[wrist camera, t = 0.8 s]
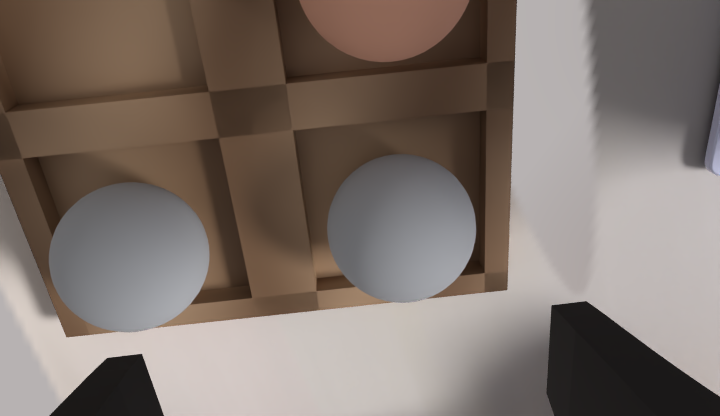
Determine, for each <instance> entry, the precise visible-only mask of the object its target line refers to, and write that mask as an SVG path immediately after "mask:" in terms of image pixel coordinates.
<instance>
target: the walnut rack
mask: <svg viewBox="0 0 720 416" xmlns="http://www.w3.org/2000/svg"><path fill="white" fill-rule="evenodd" d="M516 4H517V0H469V2H468V5H467V7H466V9H465V11H464V13H463V14H462V16H461V18H460V20H459V21H458V22H457V24H456V25H455V26H454V28H453V29H452V30H451V31H450V32H449V33H448V34H447V35H446V36H445V37H444V38H443V39H442V40H441V41H440V42H438V43H437V44H436V45H435V46H433V47H432V48H430V49H428V50H427V51H425V52H423V53H421V54H419V55H416V56H414V57H411V58H408V59H405V60H400V61H394V62H374V61H368V60H363V59H359V58H356V57H353V56H351V55H348V54H346V53H344V52H342V51H340V50H339V49H337V48H336V47H334V46H333V45H331V44H330V43H329V42H327V41H326V40H325V39H324V38H323V37H322V36H321V35H320V34H319V33H318V32H317V30H316V29H315V28H314V27H313V25H312V24H311V22H310V21H309V19H308V18H307V16H306V15H305V12H304V10H303V8H302V6H301V4H300V1H299V0H0V174H1V176H2V179H3V181H4V184H5V186H6V189H7V191H8V194H9V196H10V199H11V201H12V204H13V206H14V209H15V211H16V213H17V216H18V218H19V221H20V223H21V226H22V228H23V231H24V233H25V236H26V238H27V241H28V243H29V246H30V248H31V251H32V253H33V256H34V258H35V260H36V263H37V265H38V268H39V270H40V273H41V275H42V278H43V280H44V283H45V285H46V288H47V290H48V293H49V295H50V298H51V300H52V303H53V305H54V307H55V310H56V312H57V315H58V317H59V320H60V322H61V325H62V327H63V330H64V332H65V335H66V337H74V336H83V335H93V334H102V333H111V332H117V331H110V330H106V329H102V328H99V327H96V326H94V325H92V324H90V323H88V322H86V321H84V320H83V319H81V318H80V317H78V316H77V315H76V314H74V313H73V312H72V311H71V310H70V309H69V308H68V307H67V306H66V305H65V303H64V302H63V301H62V299H61V298H60V296H59V295H58V293H57V291H56V289H55V287H54V285H53V282H52V278H51V274H50V267H49V251H50V245H51V240H52V238H53V235H54V232H55V230H56V227H57V226H58V224H59V222H60V220H61V219H62V218H63V216H64V215H65V214H66V212H67V211H68V210H69V209H70V208H71V207H72V206H73V205H74V204H75V203H76V202H78V201H79V200H80V199H81V198H83V197H84V196H86V195H87V194H89V193H91V192H93V191H95V190H97V189H99V188H102V187H105V186H109V185H112V184H118V183H125V182H137V183H146V184H151V185H155V186H158V187H161V188H164V189H166V190H168V191H170V192H172V193H174V194H175V195H177V196H178V197H180V198H181V199H182V200H184V201H185V202H186V203H187V204H188V205H189V206H190V207H191V208H192V209H193V211H194V212H195V213H196V214H197V216H198V217H199V219H200V220H201V222H202V225H203V227H204V229H205V232H206V235H207V238H208V243H209V266H208V272H207V275H206V278H205V281H204V283H203V286H202V288H201V289H200V291H199V293H198V295H197V296H196V297H195V299H194V300H193V301H192V303H191V304H190V305H189V306H188V307H187V308H186V309H185V310H184V311H183V312H181V313H180V314H179V315H178V316H176V317H175V318H173V319H172V320H170V321H168V322H166V323H164V324H162V325H160V326H157V327H155V328H158V327H167V326H176V325H186V324H195V323H204V322H214V321H223V320H232V319H242V318H251V317H260V316H270V315H279V314H288V313H297V312H307V311H316V310H325V309H335V308H344V307H353V306H363V305H372V304H381V303H391V302H389V301H384V300H381V299H377V298H375V297H372V296H370V295H368V294H366V293H364V292H363V291H361V290H360V289H358V288H357V287H356V286H354V285H353V284H352V283H351V282H350V281H349V280H348V279H347V278H346V277H345V276H344V274H343V273H342V272H341V270H340V269H339V268H338V266H337V264H336V262H335V260H334V258H333V256H332V253H331V250H330V246H329V242H328V235H327V223H328V214H329V210H330V206H331V203H332V201H333V198H334V196H335V194H336V192H337V191H338V189H339V187H340V186H341V184H342V183H343V182H344V181H345V179H346V178H347V177H348V176H349V175H350V174H351V173H352V172H354V171H355V170H356V169H358V168H359V167H360V166H362V165H363V164H365V163H367V162H369V161H371V160H373V159H376V158H379V157H382V156H387V155H393V154H409V155H415V156H420V157H424V158H427V159H429V160H432V161H434V162H436V163H438V164H440V165H441V166H443V167H444V168H445V169H447V170H448V171H449V172H451V173H452V174H453V175H454V176H455V177H456V178H457V179H458V181H459V182H460V183H461V184H462V186H463V187H464V189H465V190H466V192H467V194H468V196H469V198H470V201H471V203H472V206H473V209H474V213H475V221H476V238H475V243H474V248H473V251H472V254H471V257H470V259H469V261H468V263H467V265H466V266H465V268H464V270H463V271H462V273H461V274H460V275H459V277H458V278H457V279H456V280H455V281H454V282H453V283H452V284H450V285H449V286H448V287H447V288H445V289H444V290H442V291H441V292H439V293H438V294H436V295H434V296H432V297H429V298H437V297H447V296H456V295H465V294H475V293H484V292H493V291H502V290H507V282H508V252H509V221H510V191H511V159H512V129H513V98H514V97H513V96H514V68H515V36H516V7H517V5H516ZM426 299H428V298H426Z"/></svg>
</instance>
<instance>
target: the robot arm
mask: <svg viewBox="0 0 720 416" xmlns="http://www.w3.org/2000/svg"><path fill="white" fill-rule="evenodd" d="M705 166H706V168H707V170H709V171H710V172H712V173H714V174H715V175H719V176H720V85H719V90H718V95H717V100H716V105H715V110H714V115H713V121H712V126H711V131H710V136H709V141H708V146H707V151H706V156H705ZM547 395H548V398H549V401H550V404H551V407H552V410H553V413H554V416H720V397H719V396H718V395H716V394H715V393H713V392H712V391H710V390H709V389H707V388H706V387H704V386H703V385H701V384H700V383H698V382H697V381H696V380H694V379H693V378H691V377H690V376H688V375H687V374H685V373H684V372H683V371H681V370H680V369H678V368H677V367H675V366H674V365H673V364H671V363H670V362H668V361H667V360H666V359H664V358H663V357H661V356H660V355H659V354H657V353H656V352H655V351H653V350H652V349H650V348H649V347H648V346H646V345H645V344H644V343H642V342H641V341H640V340H638V339H637V338H635V337H634V336H633V335H631V334H630V333H629V332H627V331H626V330H625V329H623V328H622V327H621V326H619V325H618V324H617V323H615V322H614V321H613V320H611V319H610V318H609V317H607V316H606V315H605V314H603V313H602V312H601V311H599V310H598V309H596V308H595V307H594V306H592V305H591V304H589V303H588V302H587V301H585V302H576V303H568V304H560V305H552V307H551V325H550V343H549V360H548V378H547ZM50 416H164V415H163V412H162V409H161V406H160V404H159V401H158V398H157V395H156V392H155V390H154V387H153V384H152V381H151V378H150V376H149V373H148V370H147V367H146V364H145V362H144V359H143V356H142V354H137V355H129V356H121V357H112V358H107V359H106V360H105V361H104V362H103V363H101V364H100V365H99V366H98V367H97V368H96V369H95V370H94V371H93V372H92V373H91V374H90V375H89V376H88V377H87V378H86V379H85V380H84V381H83V382H82V383H81V384H80V385H79V386H78V387H77V388H76V389H75V390H74V391H73V392H72V393H71V394H70V395H69V396H68V397H67V398H66V399H65V400H64V401H63V402H62V403H61V404H60V405H59V406H58V408H57V409H56V410H55V411H54V412H53V413H52V414H51V415H50Z"/></svg>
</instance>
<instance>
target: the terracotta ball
mask: <svg viewBox="0 0 720 416" xmlns="http://www.w3.org/2000/svg"><path fill="white" fill-rule="evenodd" d="M299 1H300V4H301V6H302V8H303V10H304V12H305V15H306V16H307V18H308V19H309V21H310V22H311V24H312V25H313V27H314V28H315V29H316V30H317V32H318V33H319V34H320V35H321V36H322V37H323V38H324V39H325V40H326V41H327V42H329V43H330V44H331V45H333V46H334V47H336V48H337V49H339V50H340V51H342V52H344V53H346V54H348V55H351V56H353V57H356V58H359V59H363V60H368V61H374V62H394V61H400V60H405V59H408V58H411V57H414V56H416V55H419V54H421V53H423V52H425V51H427V50H428V49H430V48H432V47H433V46H435V45H436V44H437V43H438V42H440V41H441V40H442V39H443V38H444V37H445V36H446V35H447V34H448V33H449V32H450V31H451V30H452V29H453V28H454V26H455V25H456V24H457V22H458V21H459V20H460V18H461V16H462V14H463V13H464V11H465V9H466V7H467V5H468V2H469V0H299Z"/></svg>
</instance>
